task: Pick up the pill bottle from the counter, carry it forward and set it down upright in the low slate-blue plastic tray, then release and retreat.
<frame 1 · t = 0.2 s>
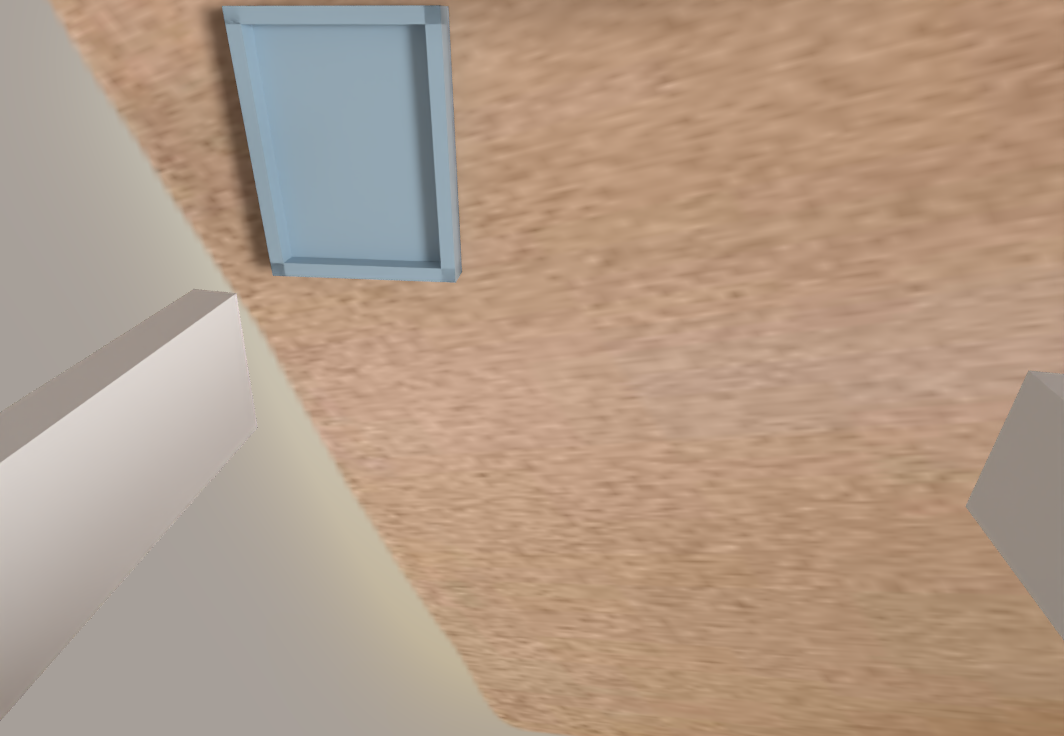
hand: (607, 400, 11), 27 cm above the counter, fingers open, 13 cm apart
tray: (359, 149, 37), on the counter
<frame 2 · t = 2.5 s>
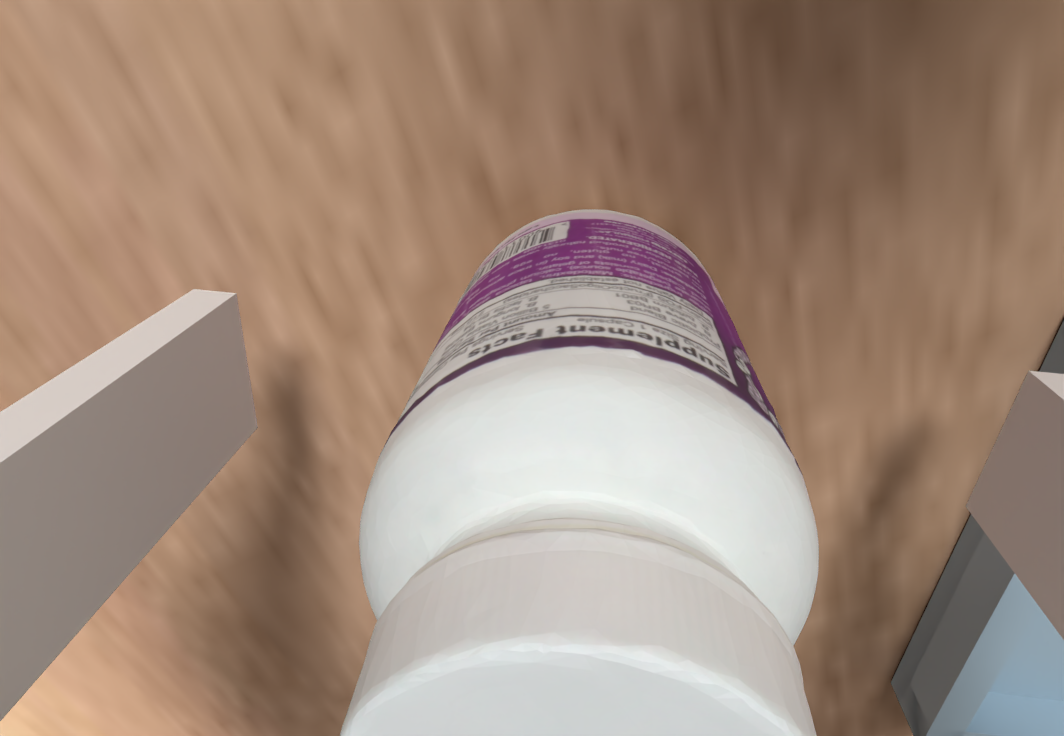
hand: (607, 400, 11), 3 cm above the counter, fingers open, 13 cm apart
pill bottle: (590, 324, 14), on the counter
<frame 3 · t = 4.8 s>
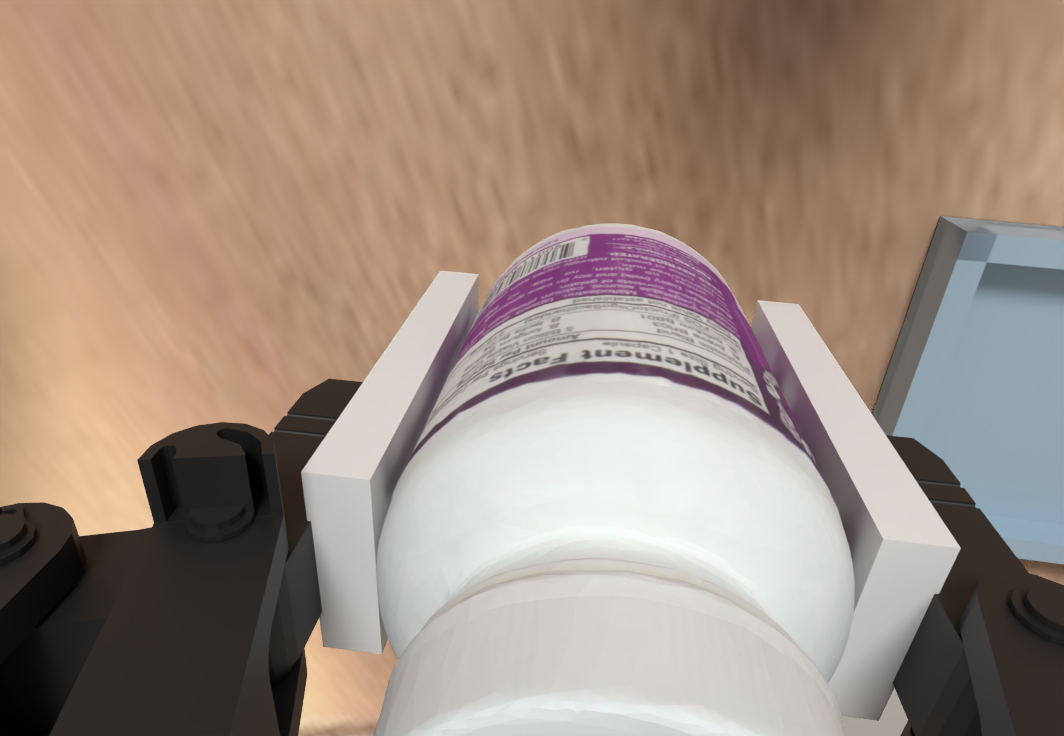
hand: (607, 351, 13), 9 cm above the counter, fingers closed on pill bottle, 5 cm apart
pill bottle: (608, 339, 14), point 9 cm above the counter, touching gripper
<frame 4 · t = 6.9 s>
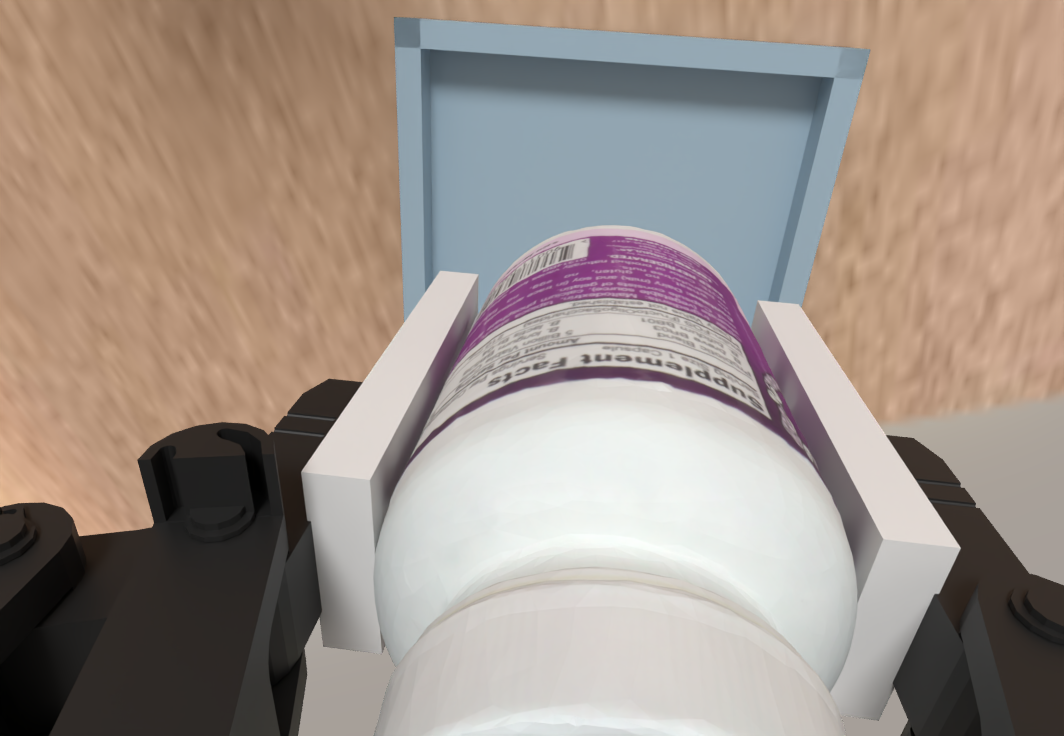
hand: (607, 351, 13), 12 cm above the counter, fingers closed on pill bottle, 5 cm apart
tray: (606, 204, 24), on the counter
pill bottle: (608, 342, 14), point 11 cm above the counter, touching gripper
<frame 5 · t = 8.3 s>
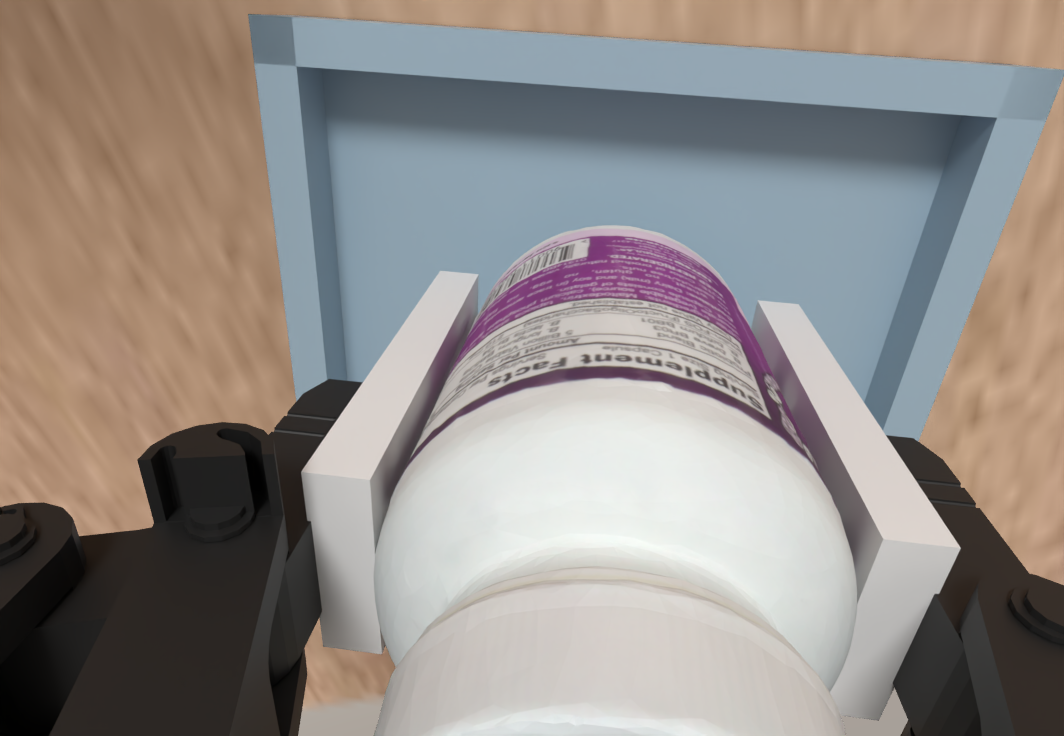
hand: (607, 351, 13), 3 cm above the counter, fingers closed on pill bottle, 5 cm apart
tray: (606, 299, 16), on the counter
pill bottle: (608, 342, 14), point 2 cm above the counter, touching gripper
when the fingers open (2 cm above the counter, at t = 9.3 s): pill bottle stays where it is, resting on tray.
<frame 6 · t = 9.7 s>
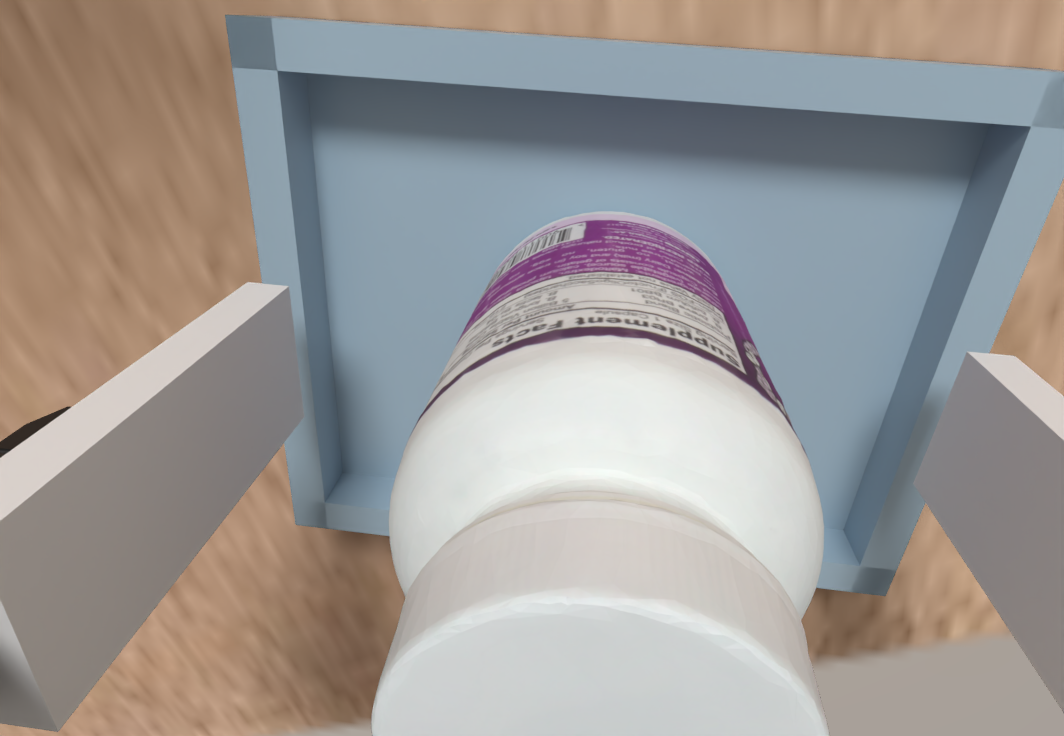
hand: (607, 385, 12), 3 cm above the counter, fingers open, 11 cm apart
tray: (608, 316, 15), on the counter
pill bottle: (604, 323, 14), resting on tray
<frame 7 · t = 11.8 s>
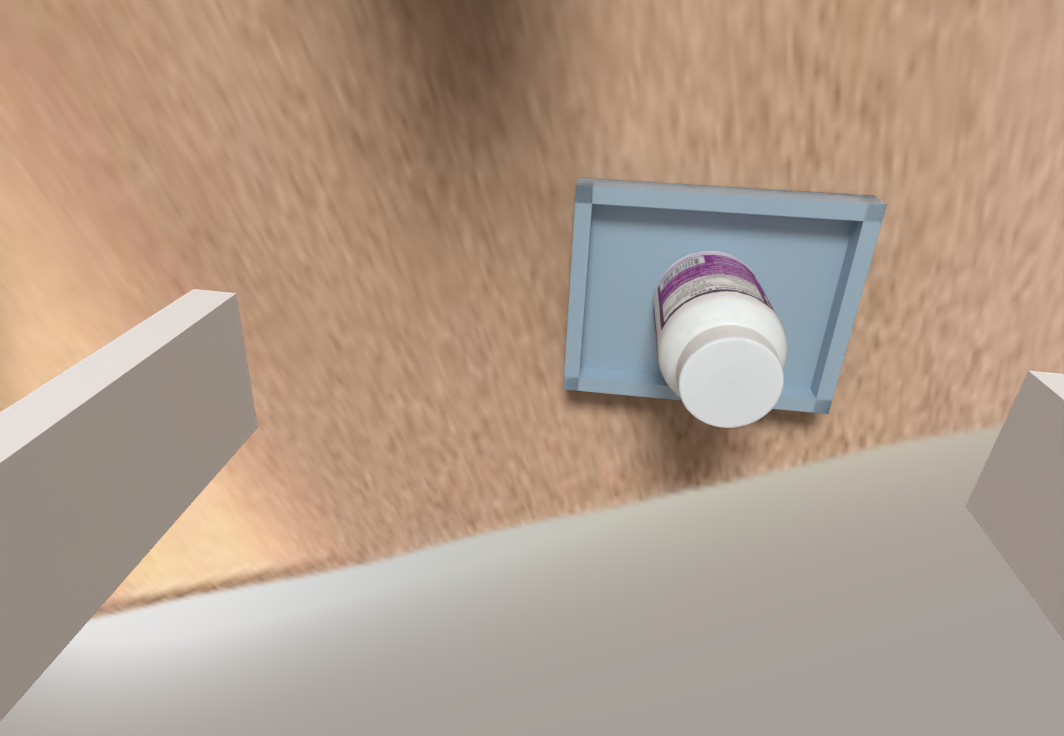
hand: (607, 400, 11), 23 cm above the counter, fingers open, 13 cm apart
tray: (705, 293, 35), on the counter
pill bottle: (704, 296, 34), resting on tray
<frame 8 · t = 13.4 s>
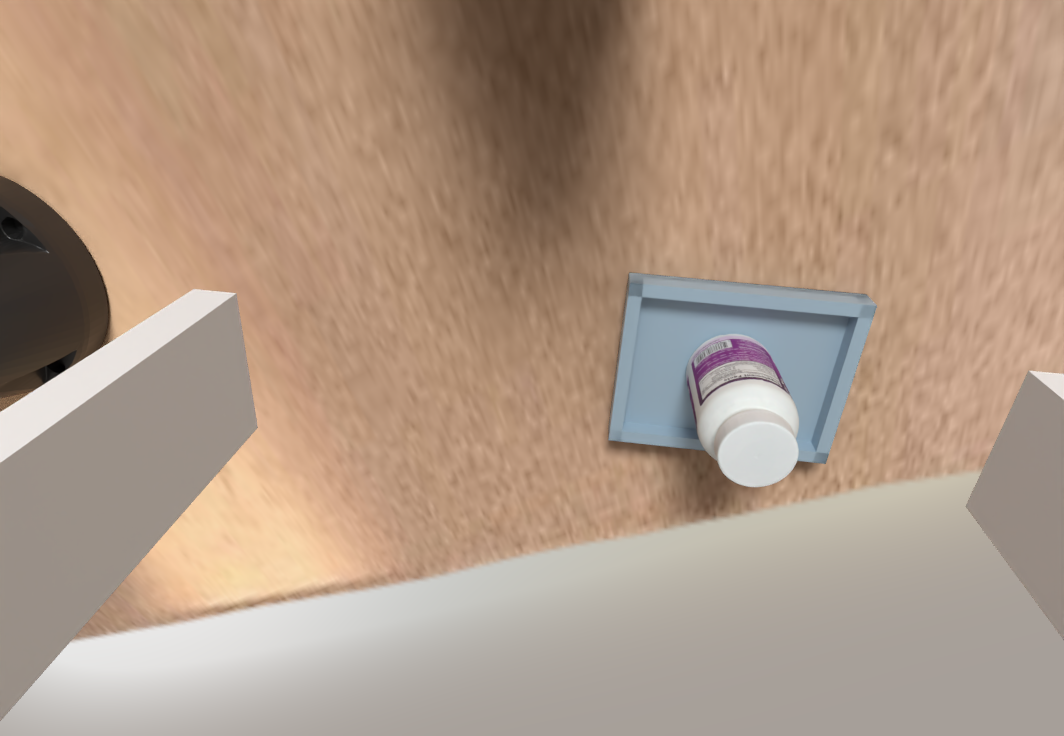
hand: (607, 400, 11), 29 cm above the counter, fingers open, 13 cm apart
tray: (728, 364, 42), on the counter
pill bottle: (727, 367, 42), resting on tray
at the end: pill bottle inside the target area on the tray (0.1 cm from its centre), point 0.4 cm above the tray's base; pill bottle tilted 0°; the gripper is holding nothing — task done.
